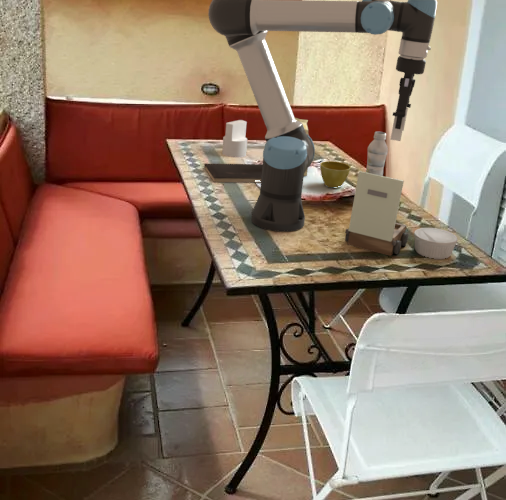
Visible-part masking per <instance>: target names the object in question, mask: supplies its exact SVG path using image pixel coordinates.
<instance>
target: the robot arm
mask: <svg viewBox="0 0 506 500" xmlns="http://www.w3.org/2000/svg"><path fill="white" fill-rule="evenodd" d="M437 6H438V1H437V0H407V1H395V0H360V1H358V0H211V2H210V4H209V7H208V15H207V16H208V19H209V20H208V21H209V24H210V26H212V29H214V31H216V32H217V33H218V34H219V35H222V36H224V37H225V39H226V42H227V45H228V46H229V47H228V48H230V49H233V50H235V51H236V53H237V54H238V55H237V56H238V57H239V61H240V63H241V65H242V68H243V70H244V73H245V75H246V76H245V77H246V78H247V81H248V84H249V86H250V89H251V91H252V94H253V97H254V98H255V102H256V104H257V107H258V109H259V112H260V114H261V117H262V119H263V122H264V125H265V127H266V130H267V131H266V134H265V136H264V138H265V139H264V140H265V141H266V142H265V145H264V149H263V151H262V157H263V158H262V164H263V165H262V176H261V182H260V186H259V187H260V191H259V195H258V197H257V200H256V202H255V205H254V206H253V208H252V211H251V218H250V219H251V223H252V224H254V225H255V226H256V227H259V228H260V229H264V230H268V231H274V232H293V231H298V230H300V229H302V228H304V227H305V221H306V216H305V211H304V207H303V200H302V194H303V193H302V192H303V184H304V177H305V176H304V173H305V171H306V170H307V168H308V169H309V167H310V166H311V165H312V164H313V161H314V159H315V158H314V157H315V153H316V152H315V151H316V150H315V149H316V148H315V144H314V141H313V139H312V138H311V137H310V135H309V134H308V135H307V134H306V132H305V129H304V126H303V124H302V122H300V121H297V120H296V119H295V118H296V117H295V115H294V112H293V109H292V107H291V105H290V101H289V100H288V96H287V94H286V92H285V88H284V86H283V82H282V81H281V78H280V74H279V73H278V70H277V67H276V64H275V62H274V59H273V56H272V54H271V51H270V48H269V47H268V43H267V40H266V37H267V35H268V32H309V33H311V32H312V33H313V32H314V33H357V34H371V35H374V36H375V35H382V34H384V33H385V34H386V32H387V31H389V32H397V33H399V32H400V33H402V34H401V39H400V42H399V47H398V54H399V56H397V60H396V66H395V70H396V71H397V72H401V73H403V75H404V76H403V77H401V78H400V80H399V89H398V95H399V96H398V100H397V105H396V109H395V111H393V112H392V116H393V117H394V119H393V125H392V129H391V130H392V131H391V134H390V141H397V142H401V141H402V135H403V132H404V131H405V126H406V120H407V114H408V110H409V108H411V107H412V103H410V98H411V96H412V93H413V89H414V88H415V83H416V79H414V77H415V75H423V74H424V72H425V70H426V65H427V64H426V63H427V61H426V58H427V57H428V51H431V49H432V47H431V46H430V42H431V39H432V38H431V37H432V33H433V27H434V24H435V19H436V13H437V8H438V7H437ZM307 171H308V170H307Z"/></svg>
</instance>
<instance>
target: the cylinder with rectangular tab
mask: <svg viewBox="0 0 506 500" xmlns="http://www.w3.org/2000/svg"><path fill="white" fill-rule="evenodd" d="M247 123H248V122H247V121H246V120H243V119H238V120H233V121H229V122H226V123H225V135H224V136H223V137H222V150H221V154H222V155H223V156H226V157H230V158H243V157H246V156H247V149H248V138H247V137H246V133H247Z"/></svg>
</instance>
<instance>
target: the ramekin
mask: <svg viewBox="0 0 506 500" xmlns="http://www.w3.org/2000/svg"><path fill="white" fill-rule="evenodd" d="M413 237H414V249H415V250H414V251H416V253H417V254H419V255H420V256H422V257H424V256H425V257H424V258H427V257H429V258H428V259H431V258H434V259H433V260H445V258H446V259H448V258H449V257H451V255H452V254H453V251H454V249H455V246H456V244H457V243H458V237H457V236H456V235H455V234H454V233H453V232H451V231H448V230H445V229H441V228H435V227H421V228H417V229H415V230H414V232H413Z"/></svg>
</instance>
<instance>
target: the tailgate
mask: <svg viewBox="0 0 506 500" xmlns="http://www.w3.org/2000/svg"><path fill="white" fill-rule="evenodd" d="M404 182H405V180H404V179H398V178H392V177H390V176H384V175H383V176H380V175H376V174H371V173H367V172H366V171H361V170H359V171H358V175H357V181H356V186H355V191H354V197H353V204H352V209H351V215H350V219H349V220H350V221H349V225H348V226H349V227H348V229H349V230H348V231H351V232H354V233H358V234H362V235H366V236H370V237H374V238H378V239H382V240H386V241H390V242H391V241H392V238H393V233H394V228H395V223H397V218H398V212H399V208H400V203H401V198H402V193H403V192H402V191H403V187H404Z"/></svg>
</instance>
